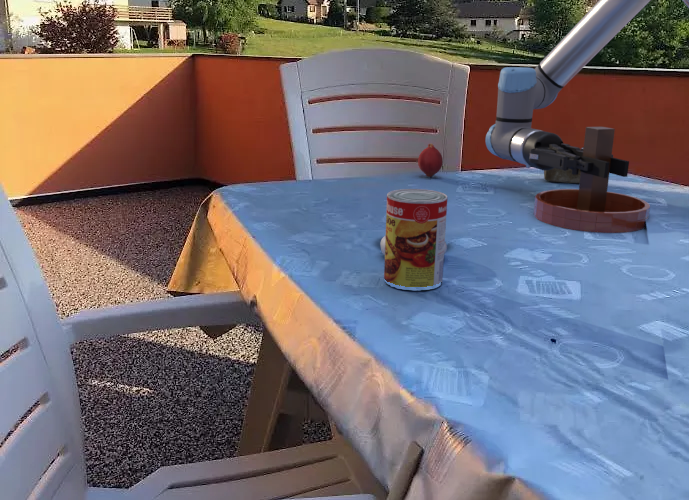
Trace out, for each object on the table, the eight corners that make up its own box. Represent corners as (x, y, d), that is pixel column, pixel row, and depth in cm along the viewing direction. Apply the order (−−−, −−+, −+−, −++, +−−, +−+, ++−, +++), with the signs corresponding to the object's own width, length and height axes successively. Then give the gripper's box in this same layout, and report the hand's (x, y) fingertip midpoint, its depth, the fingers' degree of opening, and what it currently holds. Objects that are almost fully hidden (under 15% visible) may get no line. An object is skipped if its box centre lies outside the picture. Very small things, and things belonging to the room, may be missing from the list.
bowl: (644, 214, 135) (647, 194, 134) (648, 241, 117) (652, 217, 116) (539, 205, 141) (541, 185, 140) (527, 228, 124) (529, 206, 123)
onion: (422, 173, 171) (423, 140, 169) (445, 176, 169) (447, 142, 167) (413, 177, 166) (415, 143, 164) (437, 180, 164) (439, 145, 162)
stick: (592, 207, 132) (601, 126, 128) (604, 211, 129) (615, 128, 125) (576, 208, 131) (585, 127, 127) (588, 212, 128) (598, 129, 124)
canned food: (384, 271, 100) (387, 187, 96) (441, 273, 99) (446, 189, 96) (382, 290, 92) (386, 200, 89) (443, 293, 92) (449, 202, 88)
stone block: (541, 177, 169) (544, 156, 168) (591, 180, 167) (594, 159, 166) (544, 182, 164) (546, 161, 162) (595, 185, 162) (598, 163, 160)
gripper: (570, 165, 148) (651, 188, 127) (501, 169, 142) (574, 193, 121) (574, 129, 145) (657, 146, 124) (504, 131, 140) (579, 149, 119)
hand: (616, 169), depth 123 cm, fingers closed on stick, 3 cm apart
